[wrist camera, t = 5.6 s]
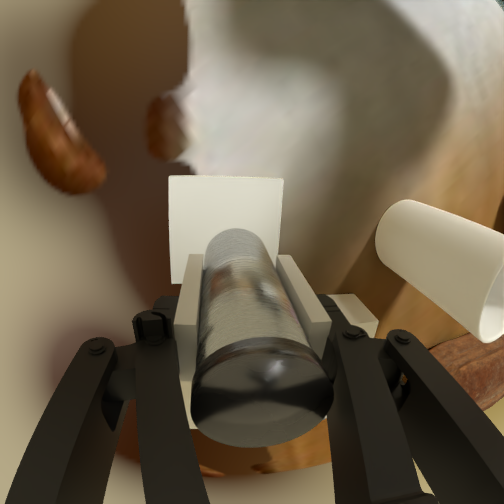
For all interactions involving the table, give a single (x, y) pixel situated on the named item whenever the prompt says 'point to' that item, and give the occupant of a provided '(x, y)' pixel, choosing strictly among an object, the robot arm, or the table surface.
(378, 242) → the cup
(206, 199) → the white flat square plate
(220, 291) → the plug
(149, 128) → the table surface
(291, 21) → the table surface
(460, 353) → the bread
